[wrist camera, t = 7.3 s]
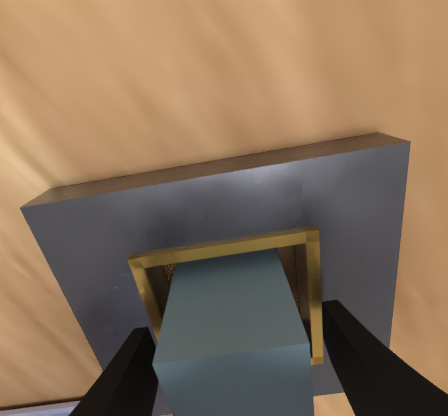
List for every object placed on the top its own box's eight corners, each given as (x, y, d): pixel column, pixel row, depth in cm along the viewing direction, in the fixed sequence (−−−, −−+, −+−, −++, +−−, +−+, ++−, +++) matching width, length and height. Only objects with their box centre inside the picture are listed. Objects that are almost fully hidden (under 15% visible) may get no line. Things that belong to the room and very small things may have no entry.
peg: (198, 319, 15) (187, 450, 10) (179, 250, 13) (152, 364, 8) (280, 307, 15) (315, 435, 10) (271, 235, 13) (309, 343, 8)
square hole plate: (137, 383, 17) (127, 423, 15) (49, 188, 12) (16, 209, 10) (366, 353, 16) (387, 390, 14) (379, 132, 11) (414, 142, 9)
